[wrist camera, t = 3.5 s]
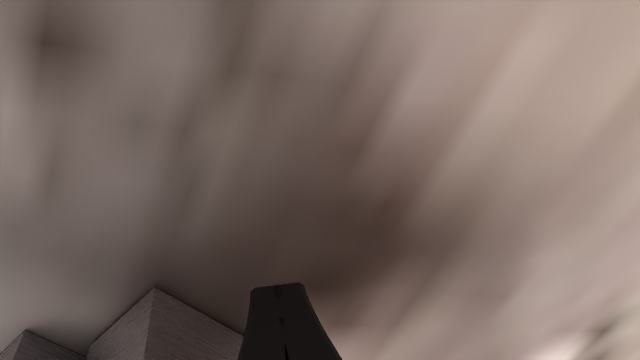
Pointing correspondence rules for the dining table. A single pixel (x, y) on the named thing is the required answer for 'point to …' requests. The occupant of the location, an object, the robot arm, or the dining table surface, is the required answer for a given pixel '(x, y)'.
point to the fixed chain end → (37, 350)
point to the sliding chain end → (165, 334)
